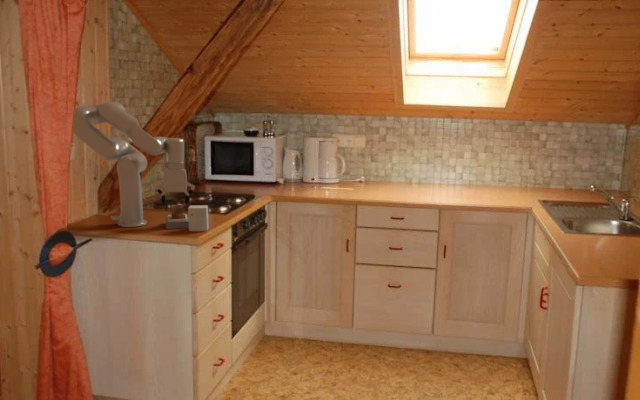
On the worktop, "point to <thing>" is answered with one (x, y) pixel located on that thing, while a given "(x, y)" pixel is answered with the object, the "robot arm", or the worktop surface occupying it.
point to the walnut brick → (177, 211)
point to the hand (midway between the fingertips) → (175, 204)
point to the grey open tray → (177, 222)
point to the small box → (198, 218)
